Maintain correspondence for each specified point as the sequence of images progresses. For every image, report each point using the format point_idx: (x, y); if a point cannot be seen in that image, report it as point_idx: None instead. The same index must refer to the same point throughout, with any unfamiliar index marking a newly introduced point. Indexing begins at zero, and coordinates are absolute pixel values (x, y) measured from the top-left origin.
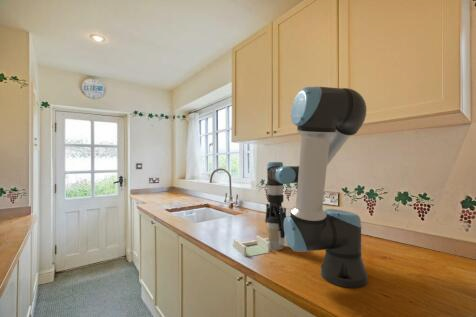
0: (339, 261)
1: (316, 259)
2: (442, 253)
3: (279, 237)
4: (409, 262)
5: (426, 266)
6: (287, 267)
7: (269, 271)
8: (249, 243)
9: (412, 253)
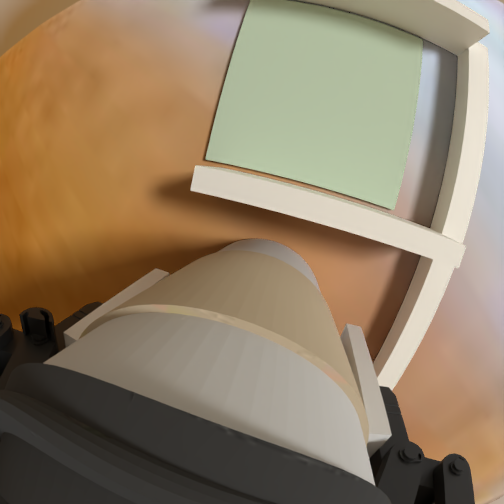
0: None
1: (36, 301)
2: None
3: (116, 296)
4: None
5: None
6: (34, 124)
7: (61, 34)
8: (453, 161)
9: None
